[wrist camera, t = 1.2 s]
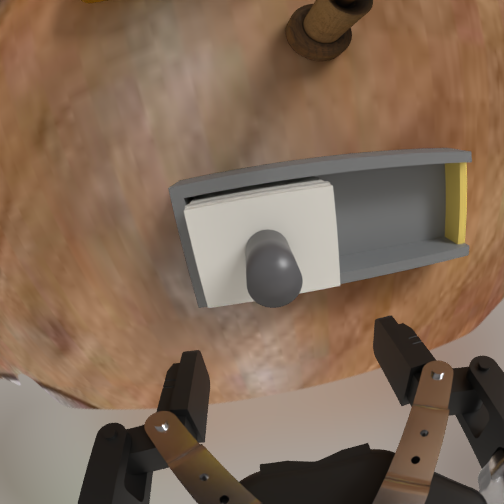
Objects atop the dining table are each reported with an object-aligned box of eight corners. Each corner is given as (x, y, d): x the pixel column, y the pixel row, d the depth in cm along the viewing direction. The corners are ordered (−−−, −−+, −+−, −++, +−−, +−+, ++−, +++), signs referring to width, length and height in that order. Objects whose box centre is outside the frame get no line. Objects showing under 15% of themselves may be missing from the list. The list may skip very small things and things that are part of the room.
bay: (179, 180, 31) (168, 188, 26) (446, 147, 30) (471, 151, 25) (204, 285, 35) (198, 307, 30) (446, 241, 34) (468, 255, 30)
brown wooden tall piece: (303, 69, 27) (371, 1, 10) (274, 21, 25) (307, -78, 8) (355, 51, 26) (451, -8, 9) (327, 5, 24) (394, -81, 7)
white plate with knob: (195, 194, 30) (164, 232, 18) (313, 174, 30) (361, 198, 18) (213, 276, 33) (200, 351, 21) (322, 257, 33) (364, 323, 21)
